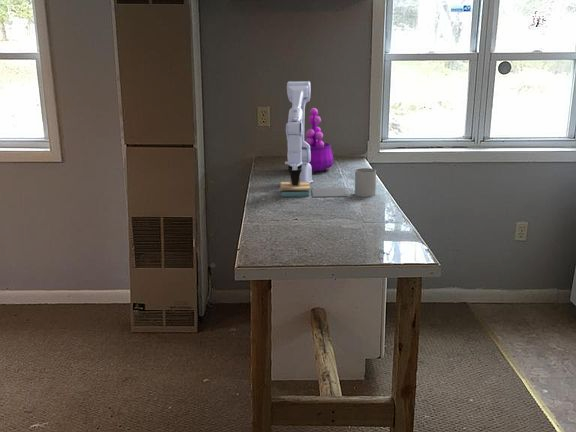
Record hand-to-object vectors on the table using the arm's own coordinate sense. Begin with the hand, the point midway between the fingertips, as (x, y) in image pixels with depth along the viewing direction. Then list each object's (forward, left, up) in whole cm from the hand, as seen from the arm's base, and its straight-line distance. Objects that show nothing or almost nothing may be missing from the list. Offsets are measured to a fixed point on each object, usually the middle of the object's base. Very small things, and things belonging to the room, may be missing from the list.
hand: (295, 183), depth 253 cm
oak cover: (0, 0, -1) cm, 1 cm away
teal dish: (0, 0, -4) cm, 4 cm away
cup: (-14, +25, -4) cm, 29 cm away
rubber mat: (-8, +12, -4) cm, 15 cm away
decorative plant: (-43, -19, -4) cm, 47 cm away
